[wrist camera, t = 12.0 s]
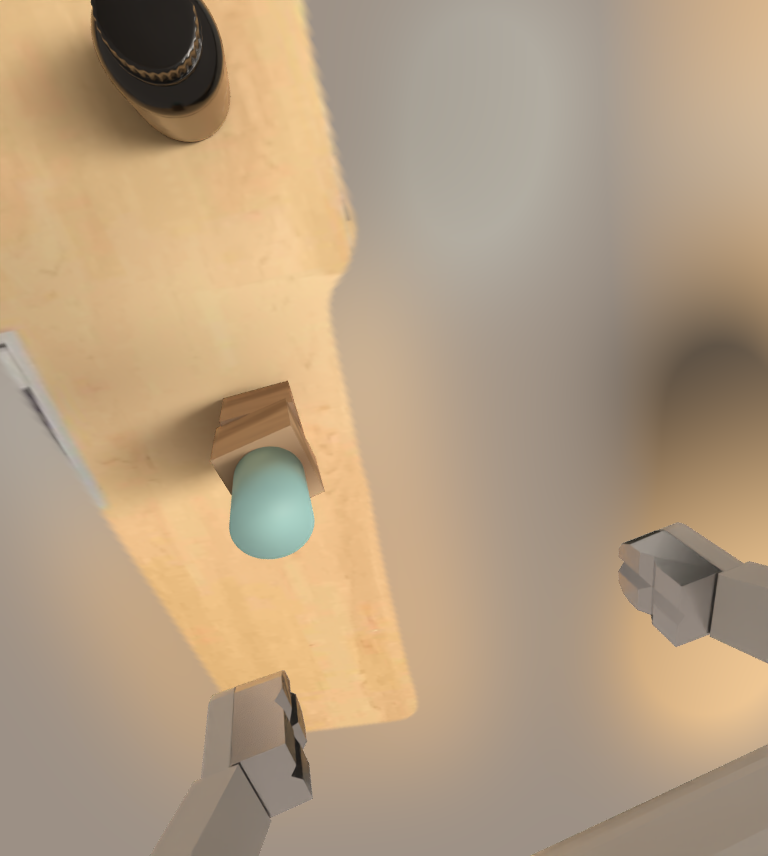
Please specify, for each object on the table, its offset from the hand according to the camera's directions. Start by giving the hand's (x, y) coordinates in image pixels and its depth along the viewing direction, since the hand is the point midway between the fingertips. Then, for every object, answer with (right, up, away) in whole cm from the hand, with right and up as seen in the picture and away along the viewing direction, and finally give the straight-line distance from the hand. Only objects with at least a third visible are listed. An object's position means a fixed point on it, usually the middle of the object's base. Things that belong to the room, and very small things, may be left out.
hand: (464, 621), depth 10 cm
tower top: (-12, +3, +28) cm, 31 cm away
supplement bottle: (-16, +29, +23) cm, 40 cm away
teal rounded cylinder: (-10, +1, +23) cm, 25 cm away
